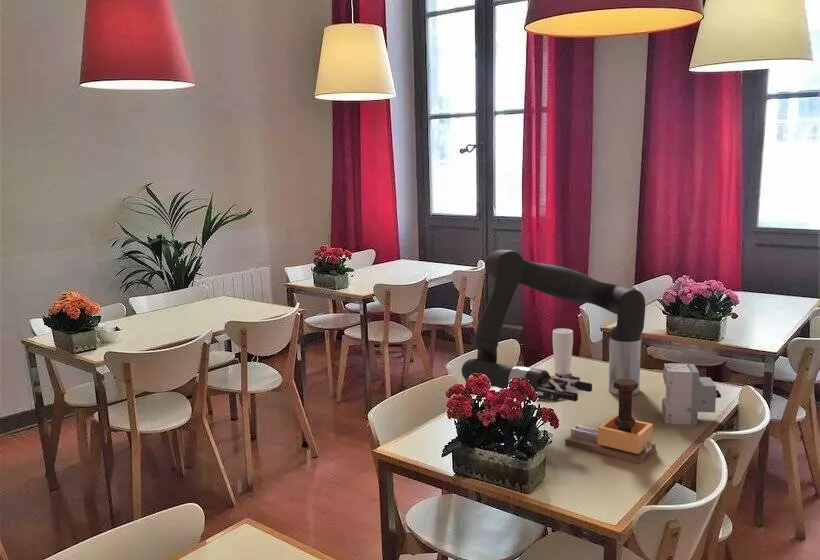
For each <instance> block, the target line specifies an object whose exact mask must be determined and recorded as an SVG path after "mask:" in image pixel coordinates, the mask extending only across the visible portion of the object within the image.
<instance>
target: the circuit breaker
mask: <svg viewBox="0 0 820 560" xmlns="http://www.w3.org/2000/svg"><path fill="white" fill-rule="evenodd" d="M663 365H664V366H663V371H662V378H663V382H664V385H665V397H662V398H661V399H662V400H661V415H662V418H663V421H664V422H665V424H670V425H671V424H672V425H692V426H693V425H694V426H697V425H698V416H699V413H716V402H717V398H718V399H721V398H722V394H721V393H720V391H719V390H718V389H717V385H716V384H715V383H714V381H713V379H712V378H711V377H710V376H709V377H707V376H700V371H699V370H698V368H697V367H696V365H695V364H694V363H673V362H672V363H670V362H669V363H664V364H663Z"/></svg>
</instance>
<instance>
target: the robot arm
mask: <svg viewBox="0 0 820 560" xmlns="http://www.w3.org/2000/svg"><path fill="white" fill-rule="evenodd" d="M484 267H485V271H486V274H488V275H489V277H490V278H492V279H493V280H495V281H494V286H493V290H492V293H491V296H490V299H489V301H488V302H487V304H486V306H485V308H484V310H483V312H482V314H481V316H480V318H479V320H478V322H477V327H476V332H475V334H474V335H475V336H474V339H473V347H474V349H475V350H477V356H476V358H469V359H468V360H466V361H465V362H464V363H463V364H462V366H461V375H462V377H463V379H464V380H465V381H467V380H466V379H467V378H468V377H469V376H470V375H471V374H473V373H482V374H485V375H486V376H487V377H488V378H489V379H490V382H491V386H490V387H494V388H498V389H501V390H505V389H504V388H507V387H508V384H509V381H510V380H511V379H512V378H517V377H523V378H526V379H528V380H529V382H530V384H531V386H532V387H533V388H534V389H535V391H536V392H537V395H538V398H543V399H547V400H546V401H552V402H558V400H560V401H563V400H566V401H571V402H577V401H578V400H579V393H578V392H576V391H575V390H577V391H582V392H587V393H590V392H592V391H593V384H592V382H586V381H581V377H578V376H573V375H572V376H571V375H569V374H568V375H562V374H560V375H558V376H557V377H554V378H551V377H550V373H549V372H548V371H547V370H545V369H539V368H534V367H529V366H528V367H527V366H520V365H519V366H518V365H512V364H506V363H498V361H497V360H498V345H499V342H500V338H501V336H502V335H501V334H502V330H503V327H504V324H505V321H506V316H507V314H508V311H509V307H510V306H511V302H512V300H513V297H514V296H515V293H516V290H517V288H518V286H519V285H522V286H526V287H529V288H531V289H533V290H536V291H538V292H541V293H543V294H545V295H548V296H552V297H555V298H557V299H560V300H565V301H569V302H574V303H581V304H582V303H585V304H590V305H591V304H592V305H594V306H597V307H599V308H602V309H605V310H606V311H608V312H611V313H612V314H615V315H617V316H616V317H617V318H616V325H615V326H613V327H611V328H610V330H609V349H608V350H609V354H608V355H609V357H608V358H609V359H608V391H609V392H610V393H611V394H614V395H617V396H619V393H618V392H619V390H618V389H616V388H614V382H615V380H617V379H623V378H625V379H632V380H635V381H636V382H637V383H638V388H637V389H635V390H634V391H633V395H632V396H635V395H638V394H640V384H641V383H640V376H641V374H640V373H641V343H642V342H641V341H642V340H641V339H642V338H641V337H642V333H643V331H644V328H645V319H646V299H645V296H644V294H643V293H642V292H641V290H638V289H635V288H632V287H629V286H627V285H619V284H612V283H608V282H604V281H599V280H596V279H594V278H592V277H591V276H588V275H586V274H585V273H582V272H579V271H577V270H574V269H571V268H568V267H564V266H560V265H554V264H549V263H542V262H534V261H529V260H527V259H524V258H523V256H522V254H521V253H519V252H518V251H516V250H511V249H497V250H495V251H492V252H491V253H489V254H488V255H487V257H486V259H485V261H484ZM566 385H567V387H566ZM570 390H571V391H570ZM573 390H574V391H573ZM550 396H552V397H550Z"/></svg>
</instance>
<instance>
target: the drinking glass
mask: <svg viewBox="0 0 820 560" xmlns="http://www.w3.org/2000/svg"><path fill="white" fill-rule="evenodd" d="M573 345H574V331H573V329H570V328H554V329H553V330H552V351H553V360H554V361H553V363H554V365H553V367H554V373H555V374H556V375H558V376H559V375H560V374H562V375H568V376H569V375H570V374H571V372H572V371H571V366H572V356H573V347H574V346H573Z"/></svg>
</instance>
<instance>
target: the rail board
mask: <svg viewBox="0 0 820 560" xmlns="http://www.w3.org/2000/svg"><path fill="white" fill-rule="evenodd" d="M597 443H598V442H596V441H592V440H588V439H584V438H580V437H576V436H572V435H571V434H570V435H569V436H568V437H567V438H565V439H564V445H565V446H568V447H573V448H575V449H576V448H577V449H580V450H584V451H588V452H592V453H596V454H599V455H603V454H604V456H607V455H608V456H607V457H611V456H612V458H615V457H616V459H619V458H620V459H619V460H623V459H624V460H623V461H627V460H628V461H627V462H631V461H632V463H636V464H640V465H641V463H642V462H643V461H644V460H645V459H646V458H647V457H648V456H649V455H650V456H651V455H652V454H653V453H654V452H655V451H656V450H657V449H656V448H657V446H656V445H657V444H656V443H654V442H653V443H652V442H651V449H650V450H649V451H648V452H647V453H642V452H640V453H639V454H636V453H632V452H628V451H624V450H620V449H616V448H612V447H608V446H603V445H599V444H597ZM653 451H654V452H653ZM652 452H653V453H652ZM650 456H649V457H650ZM649 457H648V458H649ZM648 458H647V459H648ZM647 459H646V460H647ZM646 460H645V461H646ZM645 461H644V462H645ZM644 462H643V463H644ZM643 463H642V464H643Z"/></svg>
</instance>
